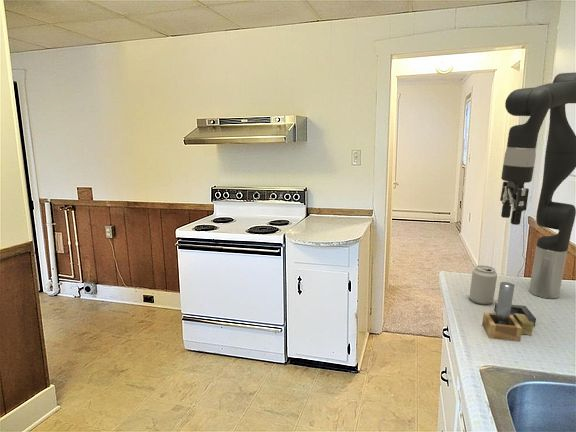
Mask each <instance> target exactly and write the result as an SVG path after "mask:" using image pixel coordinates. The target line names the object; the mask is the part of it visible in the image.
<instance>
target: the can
mask: <svg viewBox="0 0 576 432" xmlns="http://www.w3.org/2000/svg"><path fill="white" fill-rule="evenodd" d="M497 280H498V273H497V272H496V269H495V268H494V267H492V266H489V265H482V264H480V265H476V266H475V267H474V269H472V274H471V282H470V289H469V296H468V297H469V298H470V299H471V301H472V302H473V303H475V302H476V304H478V305H486V306H487V305H489V304H492V303H493V302H494V300H495V299H494V298H495V292H496V285H497Z"/></svg>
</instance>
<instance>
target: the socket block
mask: <svg viewBox="0 0 576 432" xmlns="http://www.w3.org/2000/svg"><path fill="white" fill-rule="evenodd" d="M493 308H494V309H493V311H494V313H496V308H497V302H494V307H493ZM515 313H517V314H524V315H525V316H526V317H527V319H528V320H529V321H532V322H533V323H534V325H533V327H536V323H537V318H536V317H535V316H534V314H533V313H532V312H531V311H530V309H529V308H528V307H527V305H519V304H512V305H511V311H510V315H513V316H514V314H515Z"/></svg>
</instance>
